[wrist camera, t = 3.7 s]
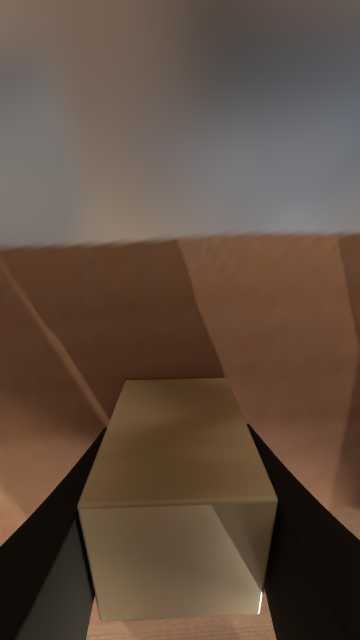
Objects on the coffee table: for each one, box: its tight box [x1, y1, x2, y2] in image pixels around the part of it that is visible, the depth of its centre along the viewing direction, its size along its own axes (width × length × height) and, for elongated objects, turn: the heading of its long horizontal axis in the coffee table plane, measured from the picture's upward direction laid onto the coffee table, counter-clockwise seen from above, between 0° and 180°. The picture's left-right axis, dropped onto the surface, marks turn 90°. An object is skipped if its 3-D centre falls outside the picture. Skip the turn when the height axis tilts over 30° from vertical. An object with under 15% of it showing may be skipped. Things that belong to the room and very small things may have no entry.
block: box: [78, 378, 278, 621], centre depth 8 cm, size 4×4×5 cm
